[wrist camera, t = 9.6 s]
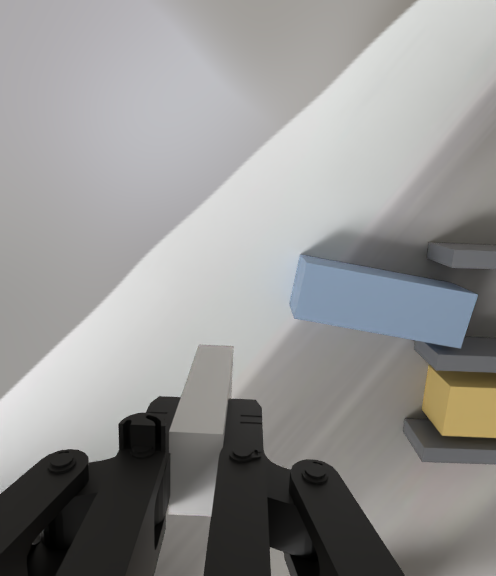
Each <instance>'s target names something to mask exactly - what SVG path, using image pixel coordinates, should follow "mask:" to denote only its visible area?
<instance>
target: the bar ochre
mask: <svg viewBox="0 0 496 576" xmlns="http://www.w3.org/2000/svg"><path fill="white" fill-rule="evenodd" d="M422 410H423V412H424V413H425V414H426V416H427V417H428V418H429V419H430V421H431V422H432V423H433V425H434V426H435V427H436V428H437V430H438V431H439V432H440V434H441V435H442V436H462V437H486V438H496V373H492V372H464V371H436V370H435V369H434V368H433V367H432V366H431V365H429V366H428V372H427V379H426V385H425V392H424V398H423V405H422Z"/></svg>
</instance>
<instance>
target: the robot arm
mask: <svg viewBox="0 0 496 576" xmlns="http://www.w3.org/2000/svg"><path fill="white" fill-rule="evenodd" d="M232 368H233V346H215V345H199V346H198V349H197V352H196V355H195V358H194V361H193V363H192V366H191V369H190V372H189V375H188V378H187V381H186V384H185V387H184V390H183V393H182V395H181V397H162V396H159V397H158V398H157V399H155V400H154V401H153V402H151V403H150V405H149V407H148V409H147V411H146V413H137V414H134V415H130V416H128V417H126V418H124V419H123V420H122V421H121V422H120V423H119V451H118V453H117V455H116V457H113V458H111V459H107V460H103V461H96V462H90V463H88V456H87V455H86V454H85V453H84V452H82V451H79V450H72V449H68V450H61V451H57V452H55V453H52V454H49V455H48V456H46V457H45V458H43V459H41V460H40V461H39V462H38V463H37V464H35V465H34V466H33V467H32V468H31V469H30V470H28V471H27V472H26V473H25V474H24V475H22V476H21V477H20V478H19V479H18V480H17V481H15V482H14V483H13V484H12V485H11V486H9V487H8V488H7V489H6V490H5V491H4V492H2V493H1V494H0V576H154V573H155V569H156V565H157V561H158V557H159V553H160V549H161V545H162V541H163V537H164V533H165V529H166V510H167V507H168V503H169V514H171V515H192V516H211V522H210V530H209V537H208V545H207V553H206V561H205V568H204V576H271V569H270V547H272V548H275V549H278V550H280V551H283V552H284V557H285V561H286V564H287V567H288V570H289V572H290V575H291V576H405V575H404V573H403V572H402V570H401V569H400V567H399V566H398V564H397V563H396V561H395V560H394V558H393V557H392V555H391V554H390V552H389V550H388V549H387V547H386V546H385V544H384V543H383V541H382V540H381V538H380V537H379V535H378V534H377V532H376V530H375V529H374V527H373V526H372V524H371V523H370V521H369V520H368V518H367V517H366V515H365V514H364V512H363V511H362V509H361V507H360V506H359V504H358V503H357V501H356V500H355V498H354V497H353V495H352V494H351V492H350V491H349V489H348V488H347V486H346V484H345V483H344V481H343V480H342V478H341V477H340V475H339V474H338V472H337V471H336V470H335V469H334V468H333V467H332V466H330V465H328V464H327V463H325V462H322V461H318V460H307V459H306V460H302V461H299V462H297V463H296V464H294V465H293V466H292V469H291V470H290V469H286V468H283V467H280V466H278V465H276V464H274V463H272V462H271V461H270V460H269V459H268V458H267V457H266V456H265V454H264V450H263V430H262V408H261V406H260V405H259V404H258V402H257V401H256V400H246V399H231V393H232Z"/></svg>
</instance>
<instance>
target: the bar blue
mask: <svg viewBox="0 0 496 576" xmlns="http://www.w3.org/2000/svg"><path fill="white" fill-rule="evenodd" d="M477 297H478V294H476V293H474V292H471V291H469V290H467V289H465V288H463V287H460V286H458V285H456V284H454V283H451V282H445V281H440V280H435V279H429V278H424V277H418V276H413V275H408V274H402V273H397V272H392V271H386V270H381V269H376V268H370V267H365V266H360V265H354V264H349V263H344V262H338V261H333V260H327V259H322V258H317V257H311V256H306V255H301V254H300V258H299V262H298V267H297V271H296V276H295V281H294V285H293V290H292V294H291V299H290V307H291V310H292V313H293V316H294V318H295V319H300V320H306V321H311V322H317V323H322V324H328V325H333V326H339V327H344V328H350V329H356V330H361V331H367V332H372V333H378V334H383V335H389V336H394V337H400V338H405V339H411V340H416V341H422V342H427V343H433V344H438V345H444V346H449V347H455V348H460V349H461V346H462V343H463V340H464V337H465V334H466V330H467V327H468V324H469V321H470V318H471V315H472V312H473V309H474V306H475V303H476V300H477Z"/></svg>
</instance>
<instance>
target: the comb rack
mask: <svg viewBox="0 0 496 576" xmlns="http://www.w3.org/2000/svg"><path fill="white" fill-rule="evenodd" d="M427 259H430V260H433V261H435V262H438V263H440V264H443V265H446V266H448V267H451V268H472V269H496V245H486V244H458V243H430V242H429V244H428V252H427ZM414 350H415V351H416V352H417V353H419V354H420V355H421V356H422V357H423V358H424V359H425V360H426V361H427V362H428V363H429V364H430V365H431V366H432V367H433V368H434V369H435V370H436V371H464V372H492V373H496V338H483V337H464V340H463V343H462V346H461V349H460V348H455V347H449V346H444V345H438V344H433V343H427V342H422V341H416V340H415V347H414ZM403 432H404V434H405V435H406V437H407V439H408V440H409V442H410V443H411V445H412V446H413V448H414V450H415V451H416V453H417V454H418V456H419V458H420V459H421V461H422V462H441V463H470V464H496V438H486V437H462V436H442V435H441V434H440V432H439V431H438V430H437V428H436V427H435V426H434V425H433V423H432V422H431V421H430V419H405V420H404V427H403Z"/></svg>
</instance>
